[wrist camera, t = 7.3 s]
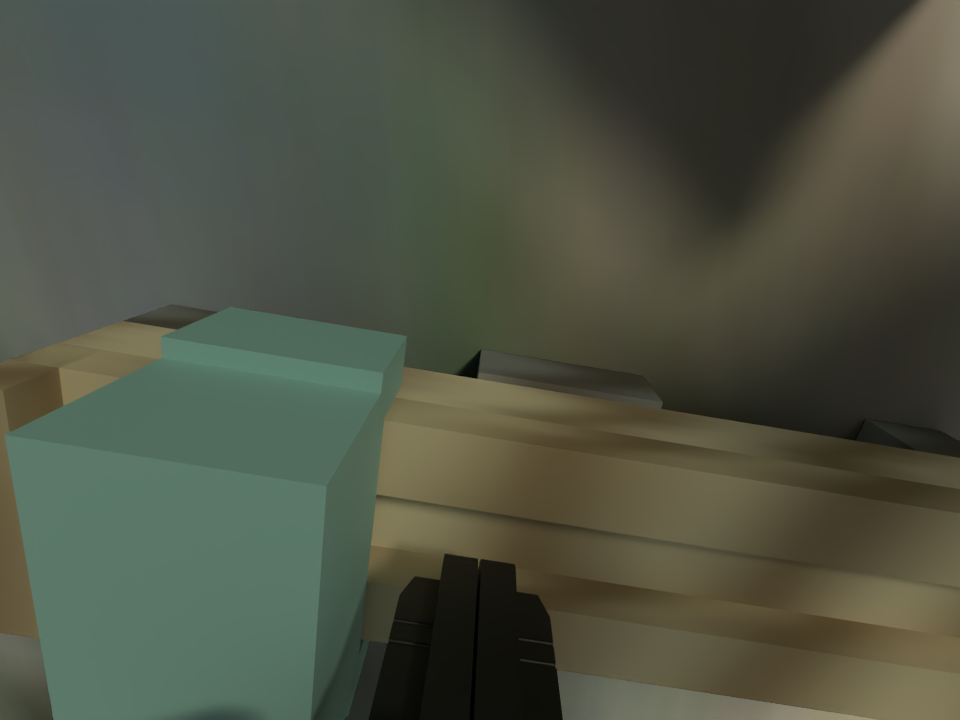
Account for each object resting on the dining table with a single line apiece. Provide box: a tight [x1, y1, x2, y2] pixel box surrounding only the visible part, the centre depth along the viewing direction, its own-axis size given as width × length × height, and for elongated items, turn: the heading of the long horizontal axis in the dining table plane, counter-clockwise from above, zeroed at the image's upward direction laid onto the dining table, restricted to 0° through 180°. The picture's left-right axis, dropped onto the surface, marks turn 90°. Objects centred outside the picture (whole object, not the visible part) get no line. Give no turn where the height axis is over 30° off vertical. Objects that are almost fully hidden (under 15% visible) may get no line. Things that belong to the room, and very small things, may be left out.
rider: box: [5, 307, 407, 720], centre depth 10 cm, size 4×9×5 cm, turn 171°
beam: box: [0, 305, 960, 720], centre depth 13 cm, size 24×6×6 cm, turn 81°
